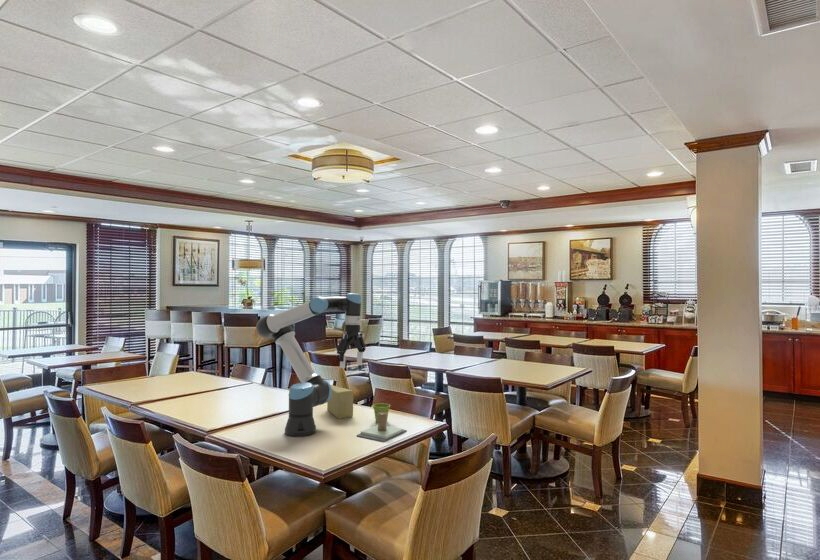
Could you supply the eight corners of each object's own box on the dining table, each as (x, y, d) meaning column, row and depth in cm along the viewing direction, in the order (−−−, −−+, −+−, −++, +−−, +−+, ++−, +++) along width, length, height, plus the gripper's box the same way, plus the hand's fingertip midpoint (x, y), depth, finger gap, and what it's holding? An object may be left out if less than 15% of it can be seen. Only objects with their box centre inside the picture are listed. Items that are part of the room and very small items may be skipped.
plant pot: (372, 419, 258) (372, 403, 259) (389, 419, 259) (390, 403, 259) (372, 424, 249) (372, 407, 249) (390, 423, 250) (390, 407, 250)
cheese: (320, 411, 276) (320, 385, 276) (335, 408, 281) (335, 383, 282) (337, 419, 258) (338, 391, 258) (353, 416, 263) (353, 389, 264)
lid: (386, 439, 222) (386, 419, 222) (360, 433, 229) (360, 414, 230) (403, 431, 234) (403, 412, 235) (378, 426, 242) (378, 408, 242)
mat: (383, 441, 219) (383, 440, 219) (356, 436, 228) (356, 435, 228) (406, 431, 236) (406, 430, 236) (380, 426, 245) (380, 425, 245)
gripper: (342, 325, 226) (340, 370, 225) (373, 323, 247) (371, 364, 247) (330, 324, 230) (328, 368, 229) (361, 322, 251) (360, 362, 251)
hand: (351, 366), depth 238 cm, fingers open, 13 cm apart
